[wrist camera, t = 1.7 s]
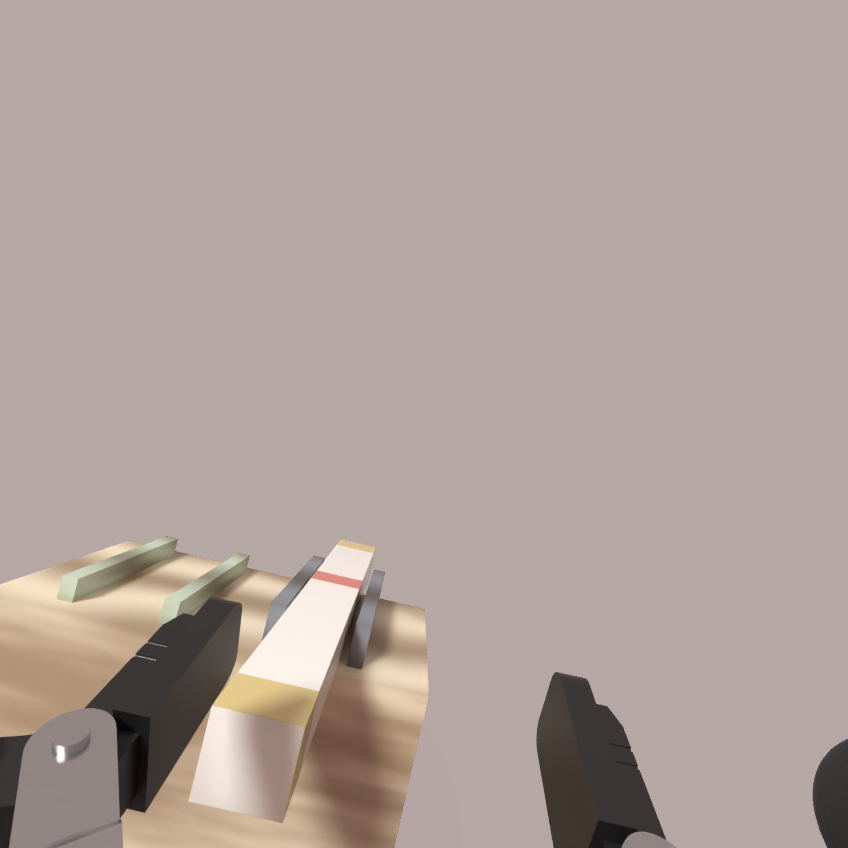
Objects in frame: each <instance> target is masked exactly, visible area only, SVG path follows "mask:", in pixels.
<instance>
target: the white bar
mask: <svg viewBox="0 0 848 848" xmlns="http://www.w3.org/2000/svg"><path fill="white" fill-rule="evenodd" d="M374 553H375V547H372V546H368V545H363V544H359V543H355V542H350V541H346V540H342V539H341V540H340V541H339V543H338V544H337V546H336V547H335V548H334V549H333V551H332V552H331V553H330V555H329V556H328V557H327V558H326V560H325V561H324V562H323V563H322V565H321V566H320V567H319V569H318V570H317V571H316V572H315V573H314V575H313V576H312V577H311V579H310V580H309V581H308V583H307V584H306V585H305V587H304V588H303V589H302V590H301V592H300V593H299V594H298V596H297V597H296V598H295V599H294V601H293V602H292V603H291V605H290V606H289V607H288V608H287V610H286V611H285V612H284V614H283V615H282V616H281V617H280V619H279V620H278V621H277V623H276V624H275V625H274V626H273V628H272V629H271V630H270V632H269V633H268V634H267V635H266V637H265V638H264V639H263V641H262V642H261V643H260V644H259V646H258V647H257V648H256V650H255V651H254V652H253V653H252V655H251V656H250V657H249V659H248V660H247V661H246V662H245V664H244V665H243V666H242V668H241V669H240V670H239V671H238V673H236V675H235V676H234V677H233V678H232V680H231V681H230V682H229V684H228V685H227V686H226V687H225V689H224V690H223V691H222V693H221V694H220V695H219V696H218V698H217V699H216V700H215V702H214V704H213V705H212V707H211V710H210V714H209V718H208V722H207V726H206V730H205V735H204V739H203V743H202V747H201V751H200V755H199V759H198V763H197V767H196V771H195V775H194V779H193V783H192V788H191V792H190V796H189V800H188V802H192V803H196V804H201V805H205V806H209V807H214V808H218V809H223V810H227V811H231V812H236V813H240V814H244V815H249V816H253V817H257V818H262V819H266V820H271V821H275V822H279V823H283V821H284V818H285V815H286V812H287V809H288V806H289V804H290V801H291V798H292V795H293V792H294V789H295V787H296V784H297V781H298V778H299V775H300V771H301V769H302V766H303V763H304V760H305V757H306V754H307V752H308V749H309V746H310V743H311V740H312V738H313V735H314V732H315V729H316V726H317V723H318V721H319V718H320V715H321V712H322V709H323V706H324V704H325V701H326V698H327V695H328V692H329V689H330V687H331V684H332V681H333V678H334V675H335V673H336V670H337V667H338V664H339V661H340V658H341V656H342V653H343V650H344V647H345V644H346V641H347V639H348V636H349V634H350V631H351V628H352V624H353V622H354V619H355V616H356V613H357V610H358V608H359V605H360V602H361V599H362V596H363V593H364V590H365V588H366V585H367V582H368V578H369V574H370V570H371V566H372V561H373V557H374Z"/></svg>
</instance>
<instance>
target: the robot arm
mask: <svg viewBox="0 0 848 848" xmlns="http://www.w3.org/2000/svg"><path fill="white" fill-rule="evenodd" d="M241 616H242V604H241V603H239V602H235V601H230V600H225V599H221V598H216V597H211V598H209V599H208V600H207V601H206V602H205V604H204V605H203V606H202V607H201V608H200V609H199V610H198V612H197V613H196V614H195V615H190V614H185V613H183V614H181V615H179V616H177V617H176V618H174V619H172V620H170V621H168V622H167V623H165V624H163V625H162V626H161V627H160V628H159V629H158V630H157V631H156V632H155V633H154V635H153V636H152V637H151V638H150V639H149V640H148V642H147V644H146V643H145V644H144V645H143V646H142V647H141V648H140V649H139V651H138V652H137V653H136V655H135V657H132V658H131V659H130V660H129V661H128V662H127V663H126V664H125V665H124V667H123V668H122V669H121V670H120V671H119V672H118V673H117V674H116V675H115V676H114V677H113V678H112V679H111V680H110V681H109V682H108V684H107V685H106V686H105V687H104V688H103V689H102V690H101V691H100V692H99V693H98V694H97V695H96V696H95V697H94V698H93V700H92V701H91V702H90V703H89V704H88V705H87V706H86V707H85V708H84V709H78V710H73V711H70V712H66V713H64V714H61V715H59V716H57V717H55V718H53V719H51V720H50V721H48V722H47V723H45V724H44V725H43V726H41V727H40V728H39V729H38V730H37V731H36V732H35V733H34V734H30V735H22V736H9V737H0V848H123V832H122V820H121V819H120V818H121V817H122V815H123V814H124V812H125V811H126V809H130V810H134V811H139V812H143V813H145V812H146V811H147V809H148V807H149V806H150V804H151V803H152V801H153V799H154V798H155V796H156V795H157V793H158V792H159V790H160V788H161V787H162V785H163V784H164V782H165V780H166V779H167V777H168V776H169V774H170V772H171V771H172V769H173V768H174V766H175V764H176V763H177V761H178V760H179V758H180V756H181V755H182V753H183V752H184V750H185V748H186V747H187V745H188V744H189V742H190V740H191V739H192V737H193V736H194V734H195V732H196V731H197V729H198V728H199V726H200V724H201V723H202V721H203V720H204V718H205V716H206V715H207V713H208V712H209V710H210V708H211V707H212V705H213V704H214V702H215V700H216V699H217V697H218V696H219V694H220V692H221V691H222V689H223V688H224V686H225V684H226V683H227V681H228V679H229V677H230V675H231V673H232V671H233V668H234V665H235V662H236V658H237V653H238V644H239V635H240V626H241ZM537 752H538V758H539V764H540V770H541V776H542V782H543V787H544V793H545V799H546V805H547V811H548V816H549V823H550V828H551V835H552V840H553V846H554V848H676V847H674V846H673V845H672V844H671V843H669V842H668V841H666V838H665V835H664V833H663V830H662V828H661V825H660V822H659V820H658V817H657V815H656V812H655V809H654V807H653V804H652V801H651V799H650V796H649V794H648V791H647V788H646V786H645V783H644V781H643V778H642V775H641V773H640V771H639V770H638V768H637V762H636V760H635V757H634V755H633V752H631V747H630V744H629V742H628V739H627V737H626V734H625V731H624V728H623V726H622V725H621V724H620V722H619V721H618V720H617V718H616V717H615V716H614V715H613V713H612V712H611V711H610V709H609V708H608V707H607V706H603V705H598V704H596V702H595V700H594V696H593V693H592V690H591V688H590V685H589V682H588V680H587V679H585V678H581V677H577V676H572V675H567V674H562V673H558V672H555V673H554V675H553V676H552V679H551V682H550V685H549V689H548V692H547V696H546V699H545V702H544V705H543V708H542V712H541V715H540V718H539V722H538V728H537ZM813 805H814V811H815V815H816V819H817V822H818V825H819V829H820V832H821V834H822V837H823V839H824V841H825V843H826V846H827V848H848V739H847V740H845V741H843V742H841V743H839V744H838V745H836V746H835V747H834V748H832V749H831V750H830V751H829V752H828V754H827V755H826V756H825V757H824V758H823V760H822V761H821V763H820V765H819V767H818V769H817V772H816V775H815V779H814V784H813Z"/></svg>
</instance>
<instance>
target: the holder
mask: <svg viewBox="0 0 848 848" xmlns="http://www.w3.org/2000/svg"><path fill="white" fill-rule="evenodd" d="M177 540H178V539H176V538H172V537H164V538H161V539H159V540H156V541H153V542H150V543H148V544H142V543H137V542H133V541H127V542H124V543H121V544H118V545H115V546H112V547H109V548H106V549H103V550H100V551H97V552H94V553H91V554H88V555H86V556H83V557H80V558H77V559H74V560H71V561H68V562H65V563H62V564H59V565H56V566H53V567H50V568H47V569H45V570H41V571H39V572H36V573H33V574H30V575H27V576H24V577H21V578H18V579H15V580H12V581H9V582H6V583H4V584H0V737H9V736H22V735H30V734H34V733H35V732H36V731H37V730H38V729H39V728H40V727H41V726H43V725H44V724H45V723H47V722H48V721H50V720H51V719H53V718H55V717H57V716H59V715H61V714H64V713H66V712H70V711H73V710H78V709H84V708H85V707H86V706H87V705H88V704H89V703H90V702H91V701H92V700H93V698H94V697H95V696H96V695H97V694H98V693H99V692H100V691H101V690H102V689H103V688H104V687H105V686H106V685H107V684H108V682H109V681H110V680H111V679H112V678H113V677H114V676H115V675H116V674H117V673H118V672H119V671H120V670H121V669H122V668H123V667H124V665H125V664H126V663H127V662H128V661H129V660H130V659H131V658H132V657H135V655H136V653H137V652H138V651H139V649H140V648H141V647H142V646H143V645H144V644H145V643H146V644H147V642H148V640H149V639H150V638H151V637H152V636H153V635H154V633H155V632H156V631H157V630H158V629H159V628H160V627H161V626H162V625H163V624H165V623H167V622H168V621H170V620H172V619H174V618H176V617H177V616H179V615H181V614H183V613H185V614H190V615H195V614H196V613H197V612H198V610H199V609H200V608H201V607H202V606H203V605H204V604H205V602H206V601H207V600H208V599H209V598H211V597H216V598H221V599H225V600H230V601H235V602H239V603H241V604H242V616H241V626H240V635H239V644H238V653H237V658H236V662H235V665H234V668H233V671H232V673H231V675H230V677H229V679H228V681H227V683H226V684H225V686H224V688H223V689H222V691H223V690H224V689H225V687H226V686H227V685H228V684H229V682H230V681H231V680H232V678H233V677H234V676H235V675H236V673H238V671H239V670H240V669H241V668H242V666H243V665H244V664H245V662H246V661H247V660H248V659H249V657H250V656H251V655H252V653H253V652H254V651H255V650H256V648H257V647H258V646H259V644H260V643H261V642H262V641H263V639H264V638H265V637H266V635H267V634H268V633H269V632H270V630H271V629H272V628H273V626H274V625H275V624H276V623H277V621H278V620H279V619H280V617H281V616H282V615H283V614H284V612H285V611H286V610H287V608H288V607H289V606H290V605H291V603H292V602H293V601H294V599H295V598H296V597H297V596H298V594H299V593H300V592H301V590H302V589H303V588H304V587H305V585H306V584H307V583H308V581H309V580H310V579H311V577H312V576H313V575H314V573H315V572H316V571H317V570H318V569H319V567H320V566H321V565H322V563H323V562H324V558H321V557H317V556H313V557H312V558H311V560H309V561H308V563H307V564H306V565H305V566H304V567H303V568H302V569H301V570H300V571H299V572H298V573H297V575H296V576H295V577H294V578H289V577H285V576H280V575H276V574H272V573H267V572H263V571H259V570H254V569H250V568H247V564H248V560H249V555H245V554H241V553H238V554H236V555H235V556H233V557H231V558H230V559H228V560H227V561H225V562H220V561H215V560H211V559H207V558H203V557H198V556H194V555H190V554H185V553H181V552H176V551H175V548H176V543H177ZM384 575H385V572H382V571H377V570H374V572H373V575H372V578H371V581H370V584H369V587H368V590H367V593H366V595H363V596H362V599H361V602H360V605H359V608H358V610H357V613H356V616H355V619H354V622H353V624H352V628H351V631H350V634H349V636H348V639H347V641H346V644H345V647H344V650H343V653H342V656H341V658H340V661H339V664H338V667H337V670H336V673H335V675H334V678H333V681H332V684H331V687H330V689H329V692H328V695H327V698H326V701H325V704H324V706H323V709H322V712H321V715H320V718H319V721H318V723H317V726H316V729H315V732H314V735H313V738H312V740H311V743H310V746H309V749H308V752H307V754H306V757H305V760H304V763H303V766H302V769H301V771H300V775H299V778H298V781H297V784H296V787H295V789H294V792H293V795H292V798H291V801H290V804H289V806H288V809H287V812H286V815H285V818H284V821H283V823H279V822H275V821H271V820H266V819H262V818H257V817H253V816H249V815H244V814H240V813H236V812H231V811H227V810H223V809H218V808H214V807H209V806H205V805H201V804H196V803H192V802H188V800H189V796H190V792H191V788H192V783H193V779H194V775H195V771H196V767H197V763H198V759H199V755H200V751H201V747H202V743H203V739H204V735H205V730H206V726H207V722H208V718H209V714H210V710H211V708H210V710H209V712H208V713H207V715H206V716H205V718H204V720H203V721H202V723H201V724H200V726H199V728H198V729H197V731H196V732H195V734H194V736H193V737H192V739H191V740H190V742H189V744H188V745H187V747H186V748H185V750H184V752H183V753H182V755H181V756H180V758H179V760H178V761H177V763H176V764H175V766H174V768H173V769H172V771H171V772H170V774H169V776H168V777H167V779H166V780H165V782H164V784H163V785H162V787H161V788H160V790H159V792H158V793H157V795H156V796H155V798H154V799H153V801H152V803H151V804H150V806H149V807H148V809H147V811H146V812H145V813H143V812H139V811H134V810H130V809H126V811H125V812H124V814H123V815H122V817H121V818H120V819H121V820H122V832H123V848H394V845H395V841H396V837H397V832H398V828H399V823H400V819H401V815H402V810H403V806H404V801H405V796H406V793H407V788H408V784H409V779H410V775H411V771H412V766H413V762H414V757H415V753H416V748H417V744H418V740H419V736H420V731H421V727H422V722H423V718H424V714H425V709H426V705H427V700H428V696H429V692H428V671H427V650H426V627H425V609H422V608H419V607H414V606H410V605H406V604H401V603H397V602H393V601H388V600H384V599H380V598H379V597H380V592H381V588H382V584H383V580H384ZM222 691H221V692H220V694H221V693H222ZM220 694H219V695H220ZM217 698H218V697H217Z"/></svg>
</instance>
